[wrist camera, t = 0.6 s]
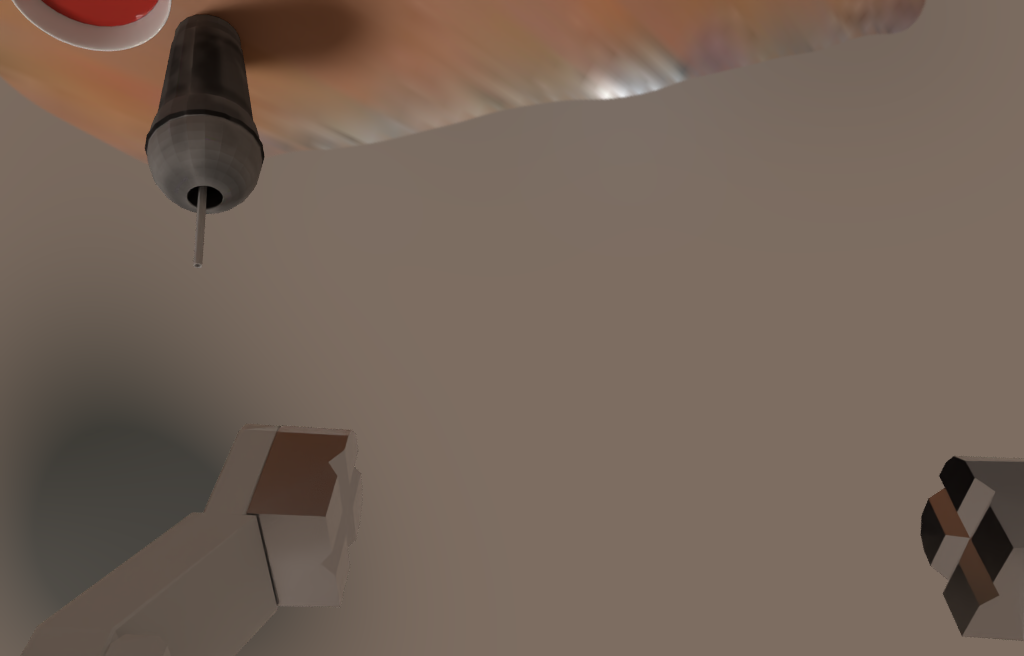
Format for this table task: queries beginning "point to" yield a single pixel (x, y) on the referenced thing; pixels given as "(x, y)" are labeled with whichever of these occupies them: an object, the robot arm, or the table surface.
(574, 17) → the table surface
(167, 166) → the beverage cup
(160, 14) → the candle
